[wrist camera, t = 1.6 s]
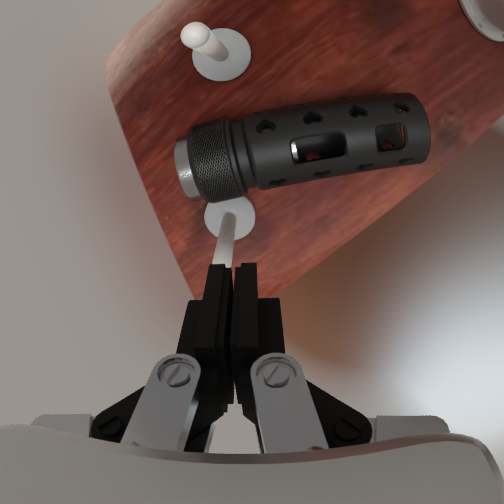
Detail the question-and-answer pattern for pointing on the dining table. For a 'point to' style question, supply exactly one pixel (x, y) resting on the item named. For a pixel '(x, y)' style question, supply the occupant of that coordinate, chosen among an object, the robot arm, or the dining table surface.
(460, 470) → the robot arm
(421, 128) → the muzzle brake
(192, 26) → the post
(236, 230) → the cord post
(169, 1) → the dining table surface
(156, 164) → the dining table surface
